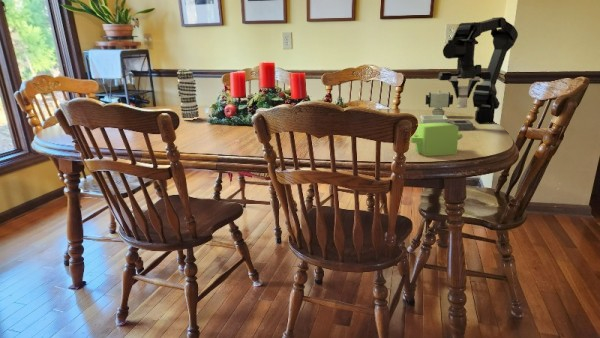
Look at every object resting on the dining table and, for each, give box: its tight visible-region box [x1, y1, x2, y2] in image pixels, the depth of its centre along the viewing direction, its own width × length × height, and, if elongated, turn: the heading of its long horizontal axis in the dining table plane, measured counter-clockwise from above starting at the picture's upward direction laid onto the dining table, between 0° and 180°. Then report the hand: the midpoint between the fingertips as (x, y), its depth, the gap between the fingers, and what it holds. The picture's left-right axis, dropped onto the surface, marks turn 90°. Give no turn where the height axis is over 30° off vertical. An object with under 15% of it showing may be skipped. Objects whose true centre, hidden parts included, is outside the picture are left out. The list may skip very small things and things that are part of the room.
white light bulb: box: [456, 85, 469, 109], centre depth 162 cm, size 4×4×8 cm
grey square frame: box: [448, 119, 474, 131], centre depth 165 cm, size 8×8×2 cm
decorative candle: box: [176, 68, 200, 119], centre depth 207 cm, size 9×9×25 cm
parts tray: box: [419, 114, 449, 124], centre depth 176 cm, size 10×9×3 cm
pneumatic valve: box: [424, 89, 454, 115], centre depth 187 cm, size 6×12×12 cm, turn 75°
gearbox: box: [409, 122, 464, 157], centre depth 134 cm, size 18×10×10 cm, turn 97°
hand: (462, 98), depth 162 cm, fingers closed on white light bulb, 4 cm apart
